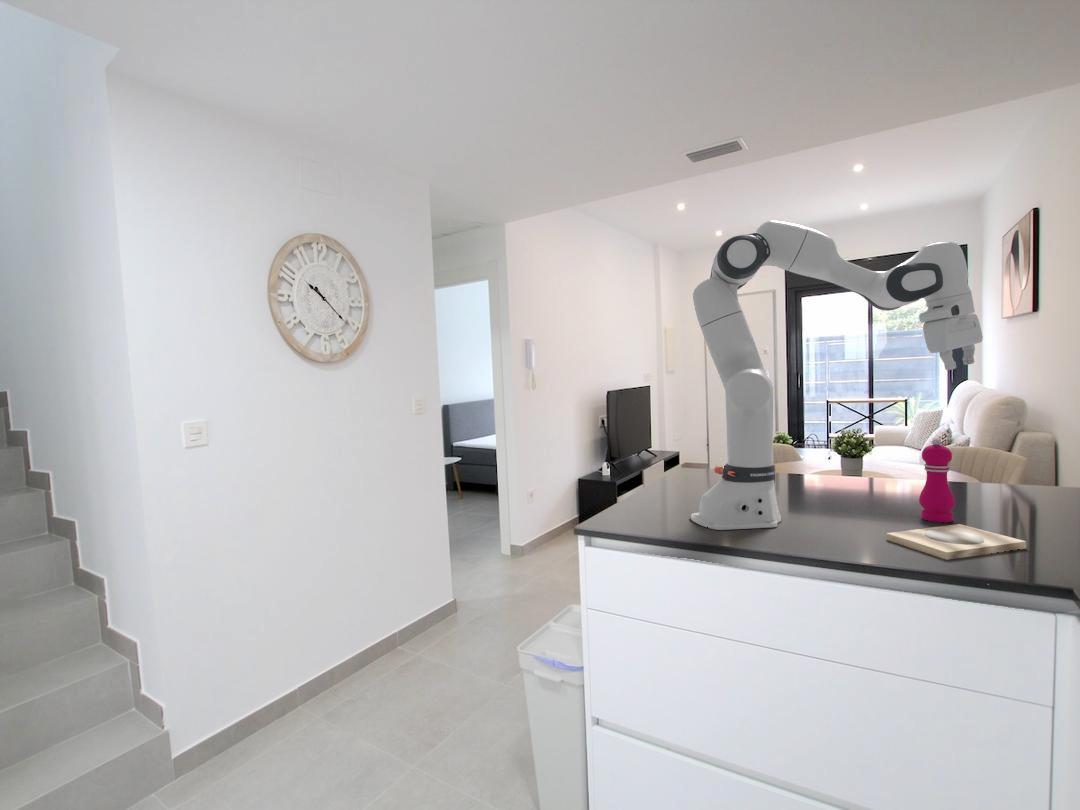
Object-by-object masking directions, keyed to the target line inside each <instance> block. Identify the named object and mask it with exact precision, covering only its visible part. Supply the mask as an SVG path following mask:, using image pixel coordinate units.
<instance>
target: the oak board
mask: <svg viewBox="0 0 1080 810" xmlns="http://www.w3.org/2000/svg"><path fill="white" fill-rule="evenodd" d="M886 540H887V541H888V542H892V543H894V544H898V545H901V546H904V547H907V548H910V549H913V550H916V551H919V552H922V553H925V554H928V555H931V556H934V557H937V558H940V559H943V560H946V561H948V560H955V559H963V558H969V557H971V558H972V557H976V556H983V555H991V553H992V554H997V552H999V553H1004V551H1006V552H1011V551H1010V550H1013V551H1018V550H1017V549H1020V550H1026V549H1027V541H1026V540H1024V539H1023V540H1022V539H1019V538H1014V537H1012V536H1007V535H1003V534H999V533H995V532H992V531H987V530H984V529H980V528H976V527H973V526H968V525H964V524H962V523H961V524H960V523H957V524H950V525H949V524H948V525H940V526H933V527H926V528H917V529H909V530H900V531H893V532H886Z"/></svg>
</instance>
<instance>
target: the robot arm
mask: <svg viewBox="0 0 1080 810" xmlns="http://www.w3.org/2000/svg"><path fill="white" fill-rule="evenodd" d="M764 266H772V267H776V268H779V269H781V270H785V271H787V272H790V273H793V274H796V275H800V276H804V277H808V278H812V279H813V278H814V279H817V280H821V281H824V282H828V283H830V284H833V285H834V286H838V287H840V288H843V289H845V290H848V291H850V292H853V293H856V294H858V295H860V296H861V297H862V298H863V299H865V300H866V301H867V302H868V303H869V304H870V305H872V307H874V308H876V309H877V310H881V311H884V312H885V311H894V310H897V309H900V308H902V307H903V306H907V305H910V304H912V303H915V302H918V301H919V300H922V299H924V300H925V303H926V307H925V308H924V310H923V311H921V312H920V314H918V317H919V322H920V323H922V324H923V325H922V331H923V336H924V340H925V341H924V342H925V344H926V348H927V349H928V351H929V353H930V354H935V353H936V354H937V353H939V357H940V359H941V361H942V362H943V364H944V369H945V370H946V371H950V370H951V371H952V370H955V369H957V362H956V361H955V360H954V358H953V357H954V356H953V354H954V353H953V350H955V349H956V350H957V349H960V348H961V351H963V357H962V358H961V359H962V363H963V365H965V366H968V365H972V364H974V363H975V351H976V344H980V343H982V342H983V337H984V336H983V332H982V328H981V323H980V320H979V317H978V315H977V314H976V311H975V304H974V300H973V293H972V290H971V288H970V285H969V280H968V279H969V270H968V265H967V260H966V257H965V254H964V252H963V249H962V248H961V245H959V244H958V243H957V242H956V243H955V242H952V241H939V242H936V243H935V242H934V243H930V244H926V245H924V246H922V247H921V248H920V249H919V250H918V252H916V253H915V254H914V255H912V256H911V257H910V258H908V259H906V260H905V261H904V262H901V263H899V264H898V265H896V266H894V267H892V268H890V269H889V270H885V271H874V270H871V269H868V268H865V267H863V266H860V265H858V264H855V263H853V262H850V261H847V260H845V259H844V258H843V257H841V256H840V255H839V252H838V249H837V245H836V242H835V240H834V239H833V238H832V237H830V236H828V235H827V234H825V233H823V232H821V231H819V230H816V229H814V228H811V227H808V226H807V227H806V226H804V225H800V224H796V223H791V222H785V221H779V220H767V221H765V222H763V223H762V224H760V226H759V227H758V228H757V229H756V231H755V232H754V233H747V234H740V235H739V234H738V235H735V236H732V237H730V238H728V239H727V240H726V241H724V242H723V243H722V244H721V246H720V247H719V249H718V251H717V252H716V253H715V256H714V258H713V262H712V267H711V270H710V277H709V278H708V279H705V280H703V281H702V282H700V283H698V285H697V286H695V288H694V290H693V293H692V301H693V306H694V310H695V314H696V317H697V322H698V324H699V327H700V330H701V332H702V334H703V338H704V340H705V344H706V346H707V347H708V351H709V353H710V356H711V358H712V361H713V363H714V366H715V368H716V371H717V373H718V375H719V378H720V380H721V383H722V385H723V388H724V390H725V391H724V392H725V410H726V411H725V415H726V446H727V447H726V450H727V452H726V453H727V464H725V467H723V466H720V465H716V466H714V467H713V473H715V474H718V475H721V479H720V480H718V481H717V483H715V484H714V485H713V486H712V487H710V489H709V490H707V491H706V492H705V493H703V495H702V496H701V498H700V502H699V512H693V513H691V514H690V520H691V521H692V522H693V523H695V524H698V525H700V526H702V527H705V528H707V527H708V528H707V529H710V530H717V531H726V530H727V531H728V530H748V529H763V528H764V529H766V528H767V529H768V528H777V527H778V523H780V522H781V521H782V516H781V513H780V511H779V506H778V503H777V501H778V500H777V496H776V495H777V494H776V488H775V483H776V479H777V478H776V465H775V464H774V445H773V444H774V443H773V441H774V440H773V439H774V437H773V436H774V433H773V432H774V428H773V427H774V385H773V383H772V381H771V378H770V377H768V374H767V373H766V371H765V367H764V365H763V362H762V360H761V357H760V354H759V351H758V349H757V345H756V342H755V340H754V337H753V334H752V332H751V329H750V326H749V324H748V321H747V319H746V317H745V314H744V311H743V308H742V306H741V304H740V302H739V298H738V290H740V289H741V288H742V287H743V286H745V285H746V284H748V282H749V281H751V280H752V279H753V278H754V277H755V275H756V274H757V272H758V271H759V270H760V268H761V267H764Z"/></svg>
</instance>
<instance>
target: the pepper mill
mask: <svg viewBox="0 0 1080 810" xmlns="http://www.w3.org/2000/svg"><path fill="white" fill-rule="evenodd" d="M931 443H932V444H930V445H927V446H926V447H924V448H923V449H922V451H921V458H922V460H923V462H925V464H924V465H923V466H924V470H925V471H926V479H925V480H926V481H925V483H924V486H923V488H922V490H921V491H920V494H919V499H918V500H919V501H918V503H919V505H920V506H921V507H922V508H923V510H921V519H923V520H925V521H927V520H928V522H933V523H942V522H944V523H952V522H953V521H954V515H953V514H954V513H953V512H951V511H952V510H953V509H954V508H955V507H956V499H955V497H954V496H955V495H954V494H953V492H952V490H951V488H950V487H949V483H948V472H950V465H949V463H950V462H951V461H952V460H953V454H952V451H951V450H950V448H949V447H946V446H944V445H942V440H941V439H939V438H934V439H932V441H931Z"/></svg>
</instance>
